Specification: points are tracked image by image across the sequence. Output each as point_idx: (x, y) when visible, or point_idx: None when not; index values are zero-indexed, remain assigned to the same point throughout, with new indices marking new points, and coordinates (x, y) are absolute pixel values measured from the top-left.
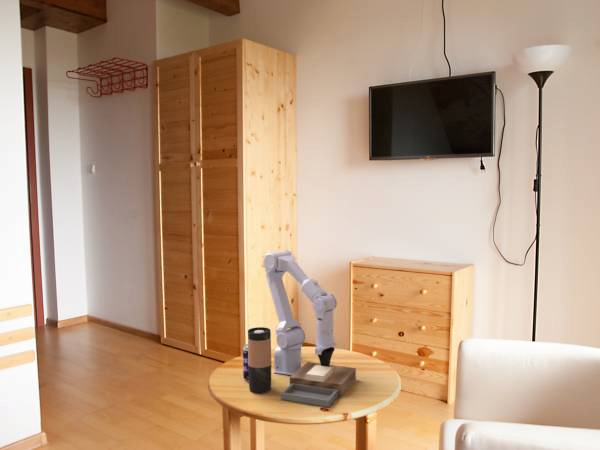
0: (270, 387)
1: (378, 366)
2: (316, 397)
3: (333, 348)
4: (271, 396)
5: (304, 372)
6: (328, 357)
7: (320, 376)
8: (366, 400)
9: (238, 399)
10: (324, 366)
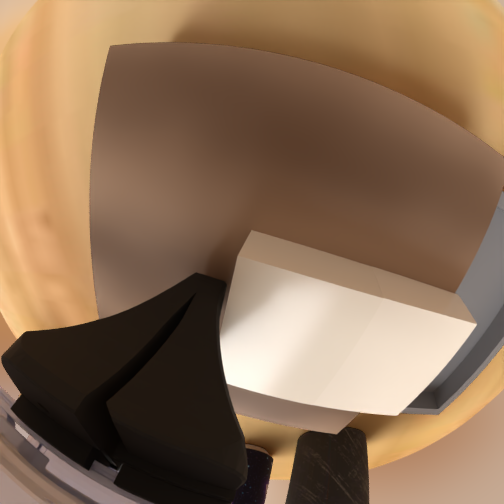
0: (343, 434)
1: (24, 34)
2: (469, 289)
3: (33, 387)
4: (395, 417)
5: (267, 396)
6: (227, 387)
7: (459, 341)
8: (479, 25)
9: (390, 454)
10: (232, 328)
